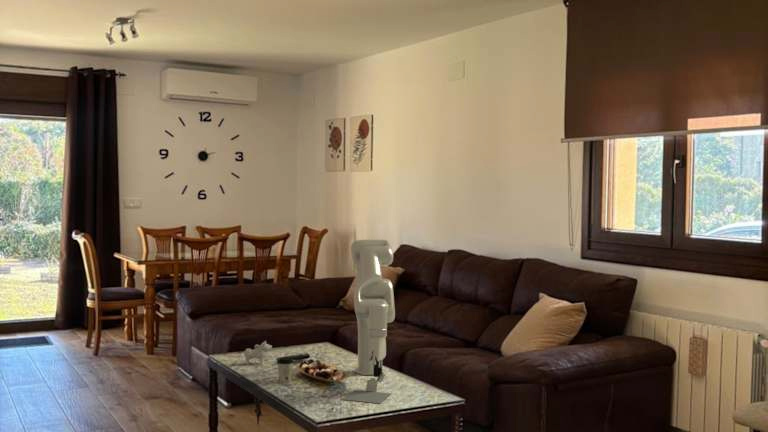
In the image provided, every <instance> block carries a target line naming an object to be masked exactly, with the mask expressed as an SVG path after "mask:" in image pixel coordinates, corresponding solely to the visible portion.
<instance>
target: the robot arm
mask: <svg viewBox="0 0 768 432" xmlns="http://www.w3.org/2000/svg"><path fill="white" fill-rule="evenodd" d="M350 255H351V259H352V262H353V265H354V267H355V270H356V280H357V285H356V287H355V289H354V293H353V304H354V313H355V315H356V323H357V367H355V368H354V373H355V374H357V375H361V376H362V375H363V376H373V378H378V377H379V375H380V374H381V372H383V360H384V359H385V358H386V356H387V339H386V337H388V324H389V323H390V324H391V323H393V322H394V321H395V317H396V308H395V295H394V286H393V283H392V281H391V280H390V279H388V278H383V275H382V268H381V267H382V266H390V265H392V263H393V262H394V252H393V249H392V246H391V244H390V243H389V241H388V240H387V239H358V240H355V241H353V242H352V243H351V245H350Z"/></svg>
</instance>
